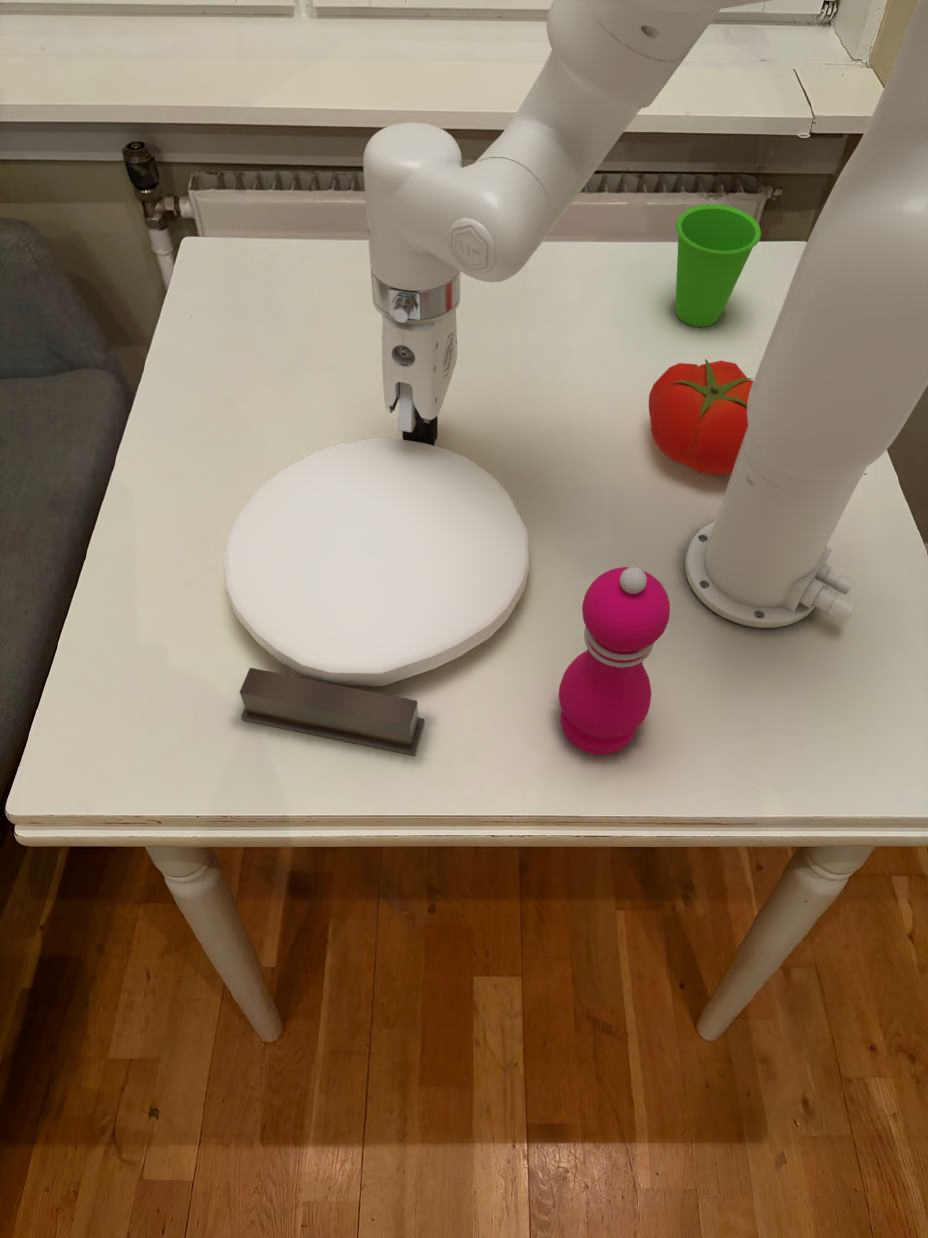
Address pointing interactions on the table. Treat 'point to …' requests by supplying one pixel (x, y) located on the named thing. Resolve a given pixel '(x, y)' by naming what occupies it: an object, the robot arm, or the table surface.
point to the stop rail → (331, 711)
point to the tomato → (701, 414)
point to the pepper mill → (613, 660)
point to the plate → (376, 561)
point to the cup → (711, 259)
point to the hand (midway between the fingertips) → (420, 441)
